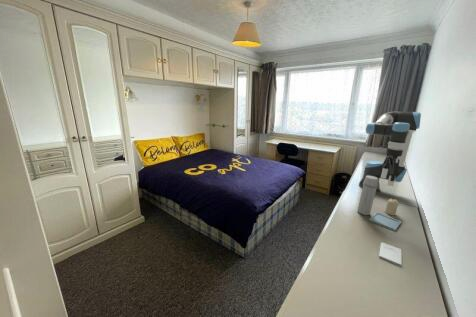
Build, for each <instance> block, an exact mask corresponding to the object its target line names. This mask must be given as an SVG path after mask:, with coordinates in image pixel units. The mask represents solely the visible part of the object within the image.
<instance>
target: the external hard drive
mask: <svg viewBox="0 0 476 317" xmlns="http://www.w3.org/2000/svg"><path fill="white" fill-rule="evenodd" d="M379 245H380V246H379V254H378V258H379V259H382V260H384V261H386V262H389V263H392V264H393V265H395V266H398V267H402V265H403V262H402V260H403V258H402V249H401V248H398V247H396V246H393V245H391V244H388V243H385V242H383V241H382V242H380V244H379Z"/></svg>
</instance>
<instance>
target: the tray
mask: <svg viewBox="0 0 476 317" xmlns="http://www.w3.org/2000/svg"><path fill="white" fill-rule="evenodd" d="M368 221H369V222H372V223H375V224H377V225H379V226H381V227H384V228H386V229H388V230H391V231H394V232H396V231H397V229H398V228H399V227H400V225H401V224H402V221H401V220H398V219H396V218H393V217H391V216H388V215H385V214H382V213H380V212H378V211H376V212H374V214H373V215H372V216H371V217H369V219H368Z"/></svg>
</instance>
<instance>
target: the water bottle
mask: <svg viewBox="0 0 476 317" xmlns="http://www.w3.org/2000/svg"><path fill="white" fill-rule="evenodd" d="M377 184H378V178H377V177H374V176H366V177H365V180H364V182H363V188H361V192H360V193H361V194H360V198H359V202H358V207H357V212H358V213H359V214H362V215H364V216H369V215H371V213H372V212H371V211H372V207H373V204H374V200H375V196H376V193H377V191H376V189H377V187H378V185H377Z"/></svg>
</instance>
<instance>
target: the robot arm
mask: <svg viewBox="0 0 476 317" xmlns="http://www.w3.org/2000/svg"><path fill="white" fill-rule="evenodd" d="M421 118H422V114H421V112H418V111H397V110H395V111H394V110H393V111H387V112H385V113H383V114H381V115H380V116H379V117H378V119H377V120H376V121H375V122H368V123H367V124H366V128H365V133H366V134H367V135H375V136H385V137H389V141H388V142H387V148H386V151H385V154H386V157H385V159H384V161H383V162H382V161H379V160H371V161H367V162H366V163H365V166H364V170H363V175H362V178H361V179H360V181H359V182H358V186H359V187H360V188H361V189H362V188H363V182H364V180H365V177H366V176H374V177H377V178H378V184H377V185H378V187H377V189H376V192H378V191H380V188H381V185H380V179H381V180H382V179H383V180H386V181H387V184H386V185H387V186H389V187H394V184H395V183H401V182H402V181H403V179H404V177H405V175H406V173H407V171H408V168H406V165H405V160H406V156H407V153H408V151H409V146H410V143H411V139H412V135H413V133H415V132H416V131H417V129H420V126H421Z"/></svg>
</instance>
